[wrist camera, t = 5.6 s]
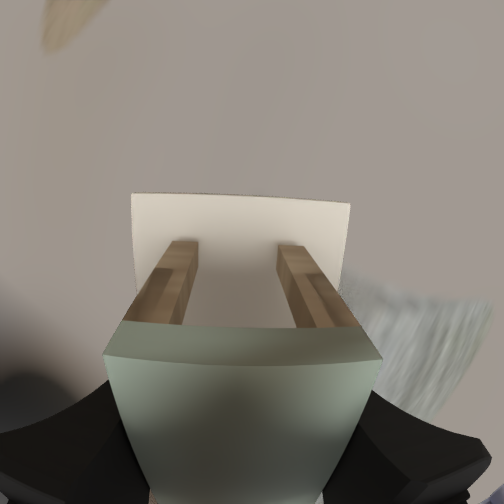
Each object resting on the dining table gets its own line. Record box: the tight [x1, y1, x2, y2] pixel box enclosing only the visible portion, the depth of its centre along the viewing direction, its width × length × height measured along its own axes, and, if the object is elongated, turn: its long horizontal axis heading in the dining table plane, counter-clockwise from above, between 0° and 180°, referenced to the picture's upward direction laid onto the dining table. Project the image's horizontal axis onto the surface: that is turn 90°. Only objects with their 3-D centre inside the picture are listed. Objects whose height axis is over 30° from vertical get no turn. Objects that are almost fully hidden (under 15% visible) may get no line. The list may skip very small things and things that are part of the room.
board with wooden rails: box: [102, 241, 383, 504], centre depth 9 cm, size 5×7×7 cm
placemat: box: [131, 192, 351, 328], centre depth 14 cm, size 11×9×1 cm
